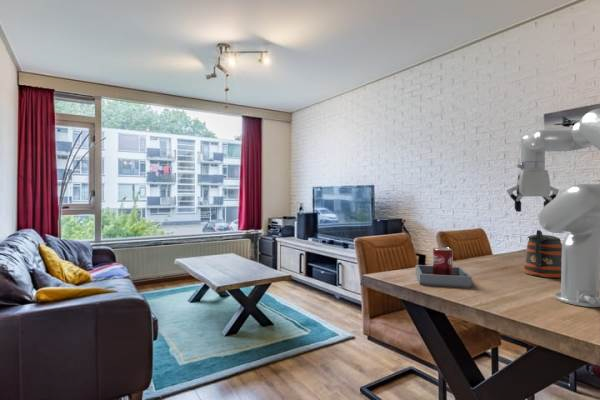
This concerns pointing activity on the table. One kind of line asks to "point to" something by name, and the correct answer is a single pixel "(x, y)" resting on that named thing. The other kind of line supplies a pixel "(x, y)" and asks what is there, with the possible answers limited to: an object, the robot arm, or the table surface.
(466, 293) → the table surface
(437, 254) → the soda can
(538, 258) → the beer stein
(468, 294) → the table surface
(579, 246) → the robot arm
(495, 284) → the table surface
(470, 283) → the tray
